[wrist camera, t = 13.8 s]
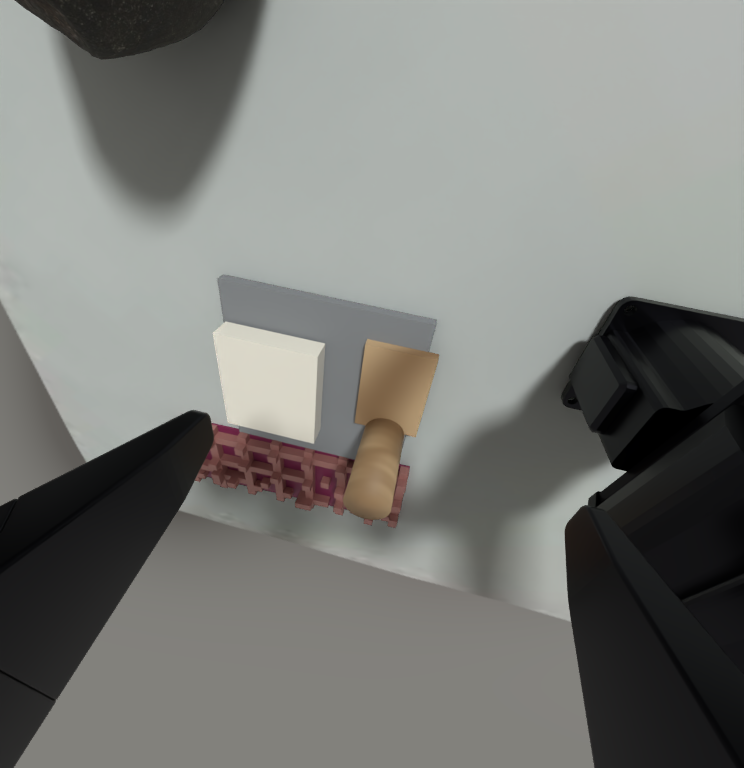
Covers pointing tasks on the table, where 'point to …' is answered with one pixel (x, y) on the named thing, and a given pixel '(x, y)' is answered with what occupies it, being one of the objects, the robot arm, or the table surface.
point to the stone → (123, 22)
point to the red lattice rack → (286, 471)
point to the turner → (386, 422)
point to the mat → (342, 346)
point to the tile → (271, 380)
